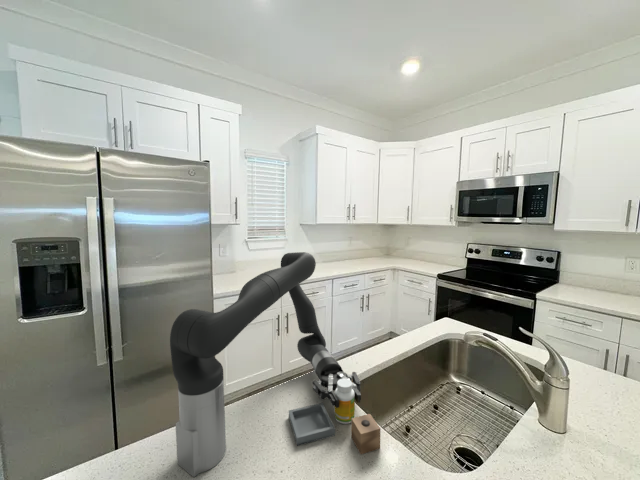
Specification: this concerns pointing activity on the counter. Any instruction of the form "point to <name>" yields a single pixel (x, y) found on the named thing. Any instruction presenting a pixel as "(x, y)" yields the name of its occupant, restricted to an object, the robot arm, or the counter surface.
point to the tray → (311, 424)
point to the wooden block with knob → (365, 433)
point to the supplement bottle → (345, 401)
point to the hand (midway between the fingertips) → (348, 401)
